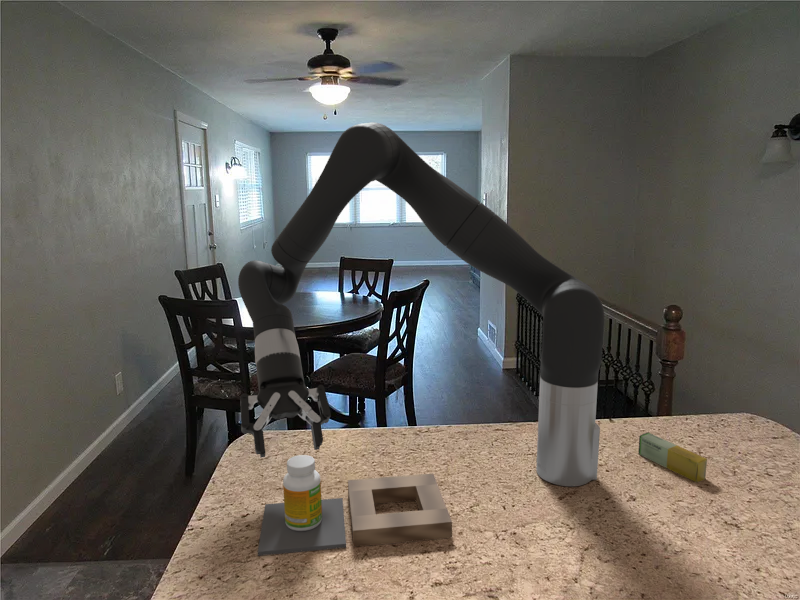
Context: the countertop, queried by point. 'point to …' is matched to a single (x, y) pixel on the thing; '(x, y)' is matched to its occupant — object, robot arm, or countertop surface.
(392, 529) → the walnut socket
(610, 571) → the countertop surface
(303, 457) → the supplement bottle
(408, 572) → the countertop surface
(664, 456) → the medication box
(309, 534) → the rubber mat
